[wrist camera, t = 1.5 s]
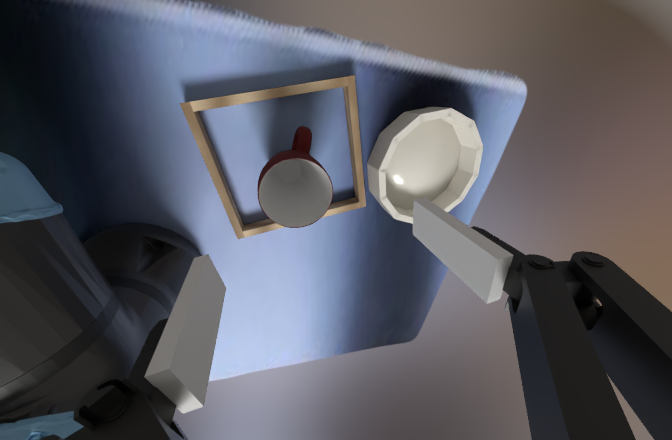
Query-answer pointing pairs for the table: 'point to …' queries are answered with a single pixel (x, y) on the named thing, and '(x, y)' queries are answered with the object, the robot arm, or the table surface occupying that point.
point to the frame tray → (195, 106)
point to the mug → (295, 185)
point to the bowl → (424, 160)
